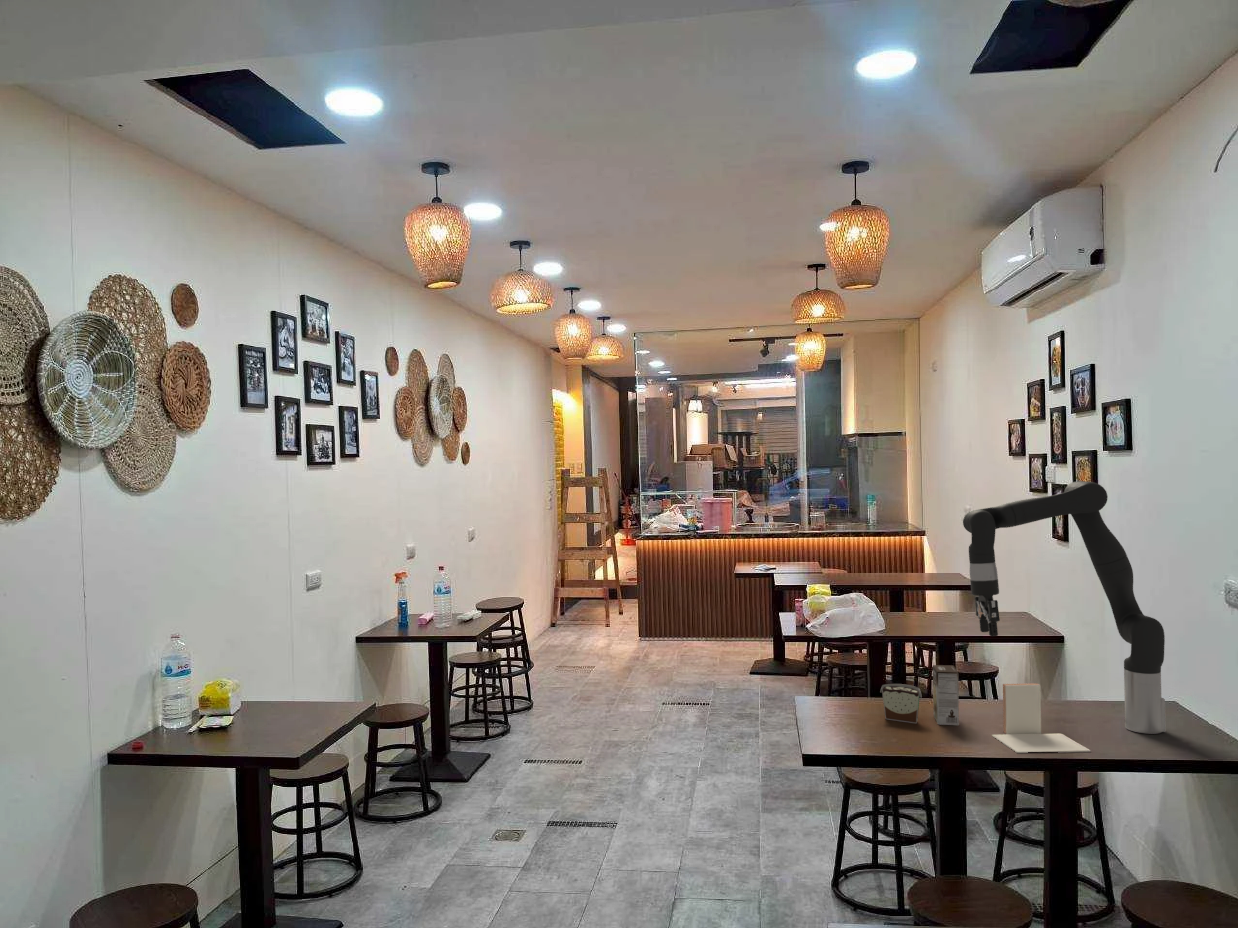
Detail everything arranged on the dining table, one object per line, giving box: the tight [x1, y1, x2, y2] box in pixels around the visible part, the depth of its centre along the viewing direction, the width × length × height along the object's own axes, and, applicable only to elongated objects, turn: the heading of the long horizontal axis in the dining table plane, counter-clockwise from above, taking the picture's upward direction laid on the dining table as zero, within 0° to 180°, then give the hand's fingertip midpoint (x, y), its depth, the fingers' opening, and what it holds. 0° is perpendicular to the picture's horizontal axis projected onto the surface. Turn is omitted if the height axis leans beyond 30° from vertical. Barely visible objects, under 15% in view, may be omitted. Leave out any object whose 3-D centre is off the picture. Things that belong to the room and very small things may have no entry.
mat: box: [991, 733, 1092, 754], centre depth 238 cm, size 20×15×1 cm
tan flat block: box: [1002, 682, 1042, 734], centre depth 248 cm, size 10×2×14 cm, turn 91°
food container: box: [879, 683, 923, 724], centre depth 264 cm, size 12×6×10 cm, turn 58°
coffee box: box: [932, 664, 960, 726], centre depth 261 cm, size 9×6×16 cm
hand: (989, 633), depth 251 cm, fingers open, 8 cm apart
